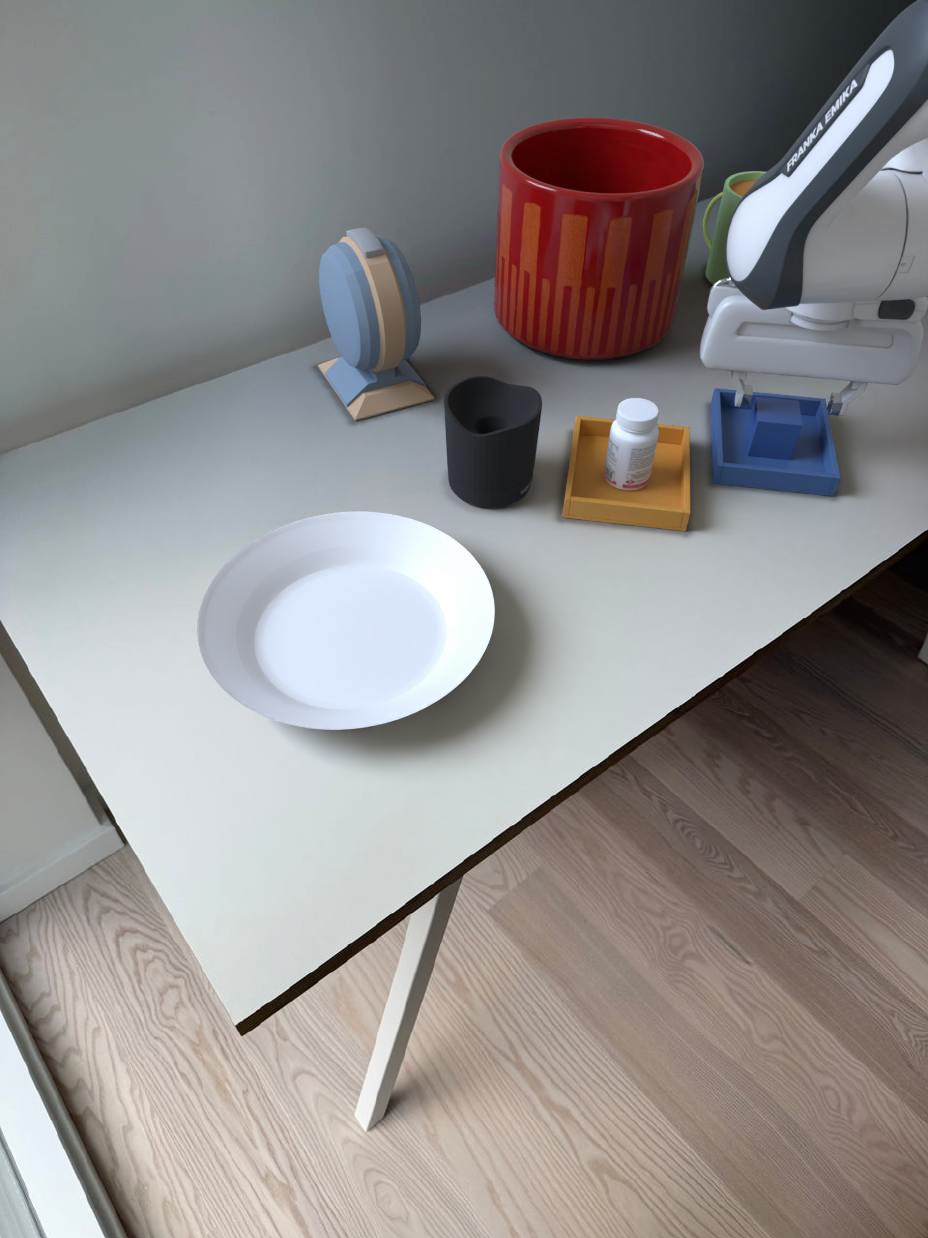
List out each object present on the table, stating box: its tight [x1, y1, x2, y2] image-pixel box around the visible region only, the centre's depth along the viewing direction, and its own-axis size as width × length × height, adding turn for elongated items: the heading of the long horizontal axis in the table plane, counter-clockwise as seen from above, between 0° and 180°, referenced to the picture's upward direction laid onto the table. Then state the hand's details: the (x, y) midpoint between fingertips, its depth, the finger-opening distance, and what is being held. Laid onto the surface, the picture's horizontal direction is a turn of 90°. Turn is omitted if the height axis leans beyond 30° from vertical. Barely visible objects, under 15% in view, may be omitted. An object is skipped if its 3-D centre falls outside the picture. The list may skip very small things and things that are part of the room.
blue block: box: [746, 397, 802, 460], centre depth 95 cm, size 4×4×4 cm
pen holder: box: [443, 374, 543, 509], centre depth 89 cm, size 9×9×10 cm
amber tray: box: [562, 415, 691, 532], centre depth 92 cm, size 12×14×2 cm
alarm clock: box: [317, 226, 436, 422], centre depth 98 cm, size 14×10×18 cm
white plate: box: [196, 510, 496, 731], centre depth 77 cm, size 25×25×4 cm
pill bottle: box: [604, 397, 660, 491], centre depth 90 cm, size 5×5×8 cm
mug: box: [702, 170, 767, 286], centre depth 119 cm, size 13×10×12 cm
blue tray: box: [709, 387, 841, 497], centre depth 96 cm, size 12×14×2 cm
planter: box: [493, 116, 705, 361], centre depth 108 cm, size 23×23×20 cm
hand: (787, 408), depth 93 cm, fingers open, 8 cm apart
